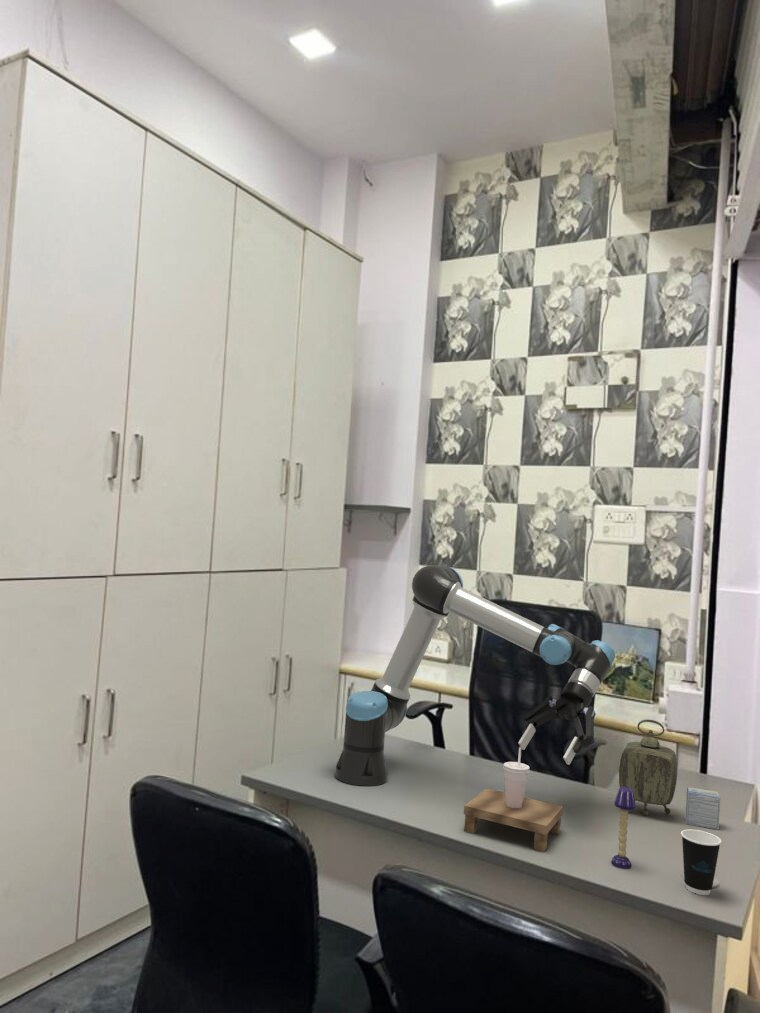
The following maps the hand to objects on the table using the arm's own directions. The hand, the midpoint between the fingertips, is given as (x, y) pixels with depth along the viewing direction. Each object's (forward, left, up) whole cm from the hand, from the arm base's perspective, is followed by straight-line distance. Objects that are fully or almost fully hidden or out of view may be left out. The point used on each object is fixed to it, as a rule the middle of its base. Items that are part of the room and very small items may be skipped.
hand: (543, 753), depth 189 cm
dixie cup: (+38, -16, -17) cm, 45 cm away
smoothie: (-4, -10, -11) cm, 16 cm away
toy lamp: (+22, -13, -17) cm, 31 cm away
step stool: (-4, -10, -17) cm, 20 cm away
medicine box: (+36, +28, -17) cm, 49 cm away
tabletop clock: (+22, +27, -17) cm, 39 cm away
